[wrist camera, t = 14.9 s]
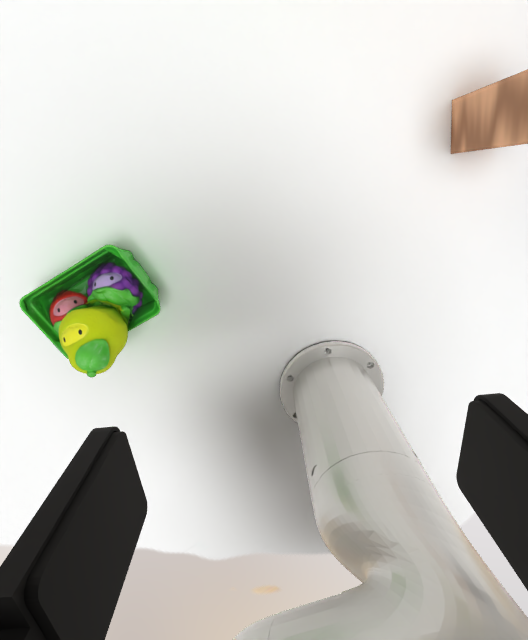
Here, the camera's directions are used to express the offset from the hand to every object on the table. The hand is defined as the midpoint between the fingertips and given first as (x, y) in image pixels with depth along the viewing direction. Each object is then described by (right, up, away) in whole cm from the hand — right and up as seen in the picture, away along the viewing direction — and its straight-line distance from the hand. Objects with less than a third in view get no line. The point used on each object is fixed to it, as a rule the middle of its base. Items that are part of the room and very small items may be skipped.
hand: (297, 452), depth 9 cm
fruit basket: (-17, +6, +27) cm, 33 cm away
